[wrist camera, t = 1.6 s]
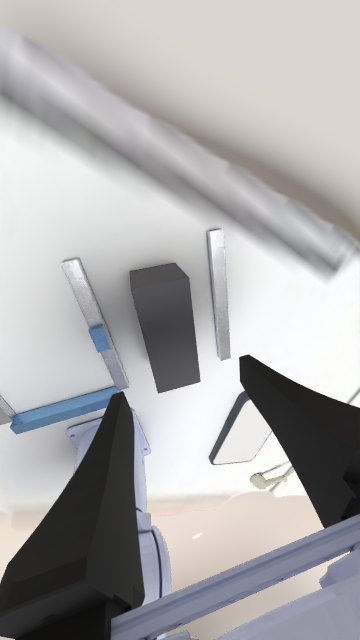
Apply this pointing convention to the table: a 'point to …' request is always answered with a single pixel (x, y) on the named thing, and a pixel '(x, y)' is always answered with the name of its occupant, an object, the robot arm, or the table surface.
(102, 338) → the silver and blue frame
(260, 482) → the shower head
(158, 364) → the dark grey block
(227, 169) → the table surface
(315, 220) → the table surface
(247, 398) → the phone case
